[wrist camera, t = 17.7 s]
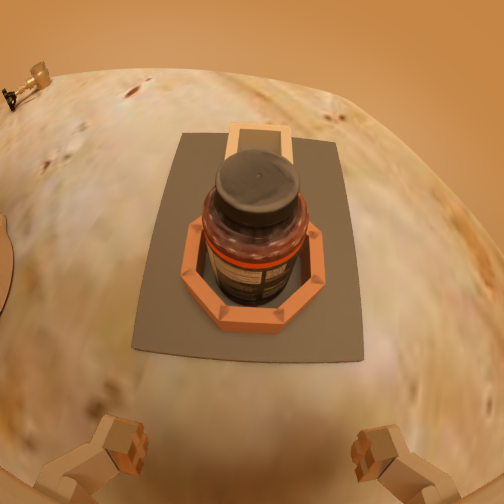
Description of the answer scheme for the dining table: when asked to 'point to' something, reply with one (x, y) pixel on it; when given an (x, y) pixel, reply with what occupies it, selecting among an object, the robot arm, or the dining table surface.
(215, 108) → the dining table surface
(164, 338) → the socket board
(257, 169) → the supplement bottle
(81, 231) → the dining table surface
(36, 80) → the valve
